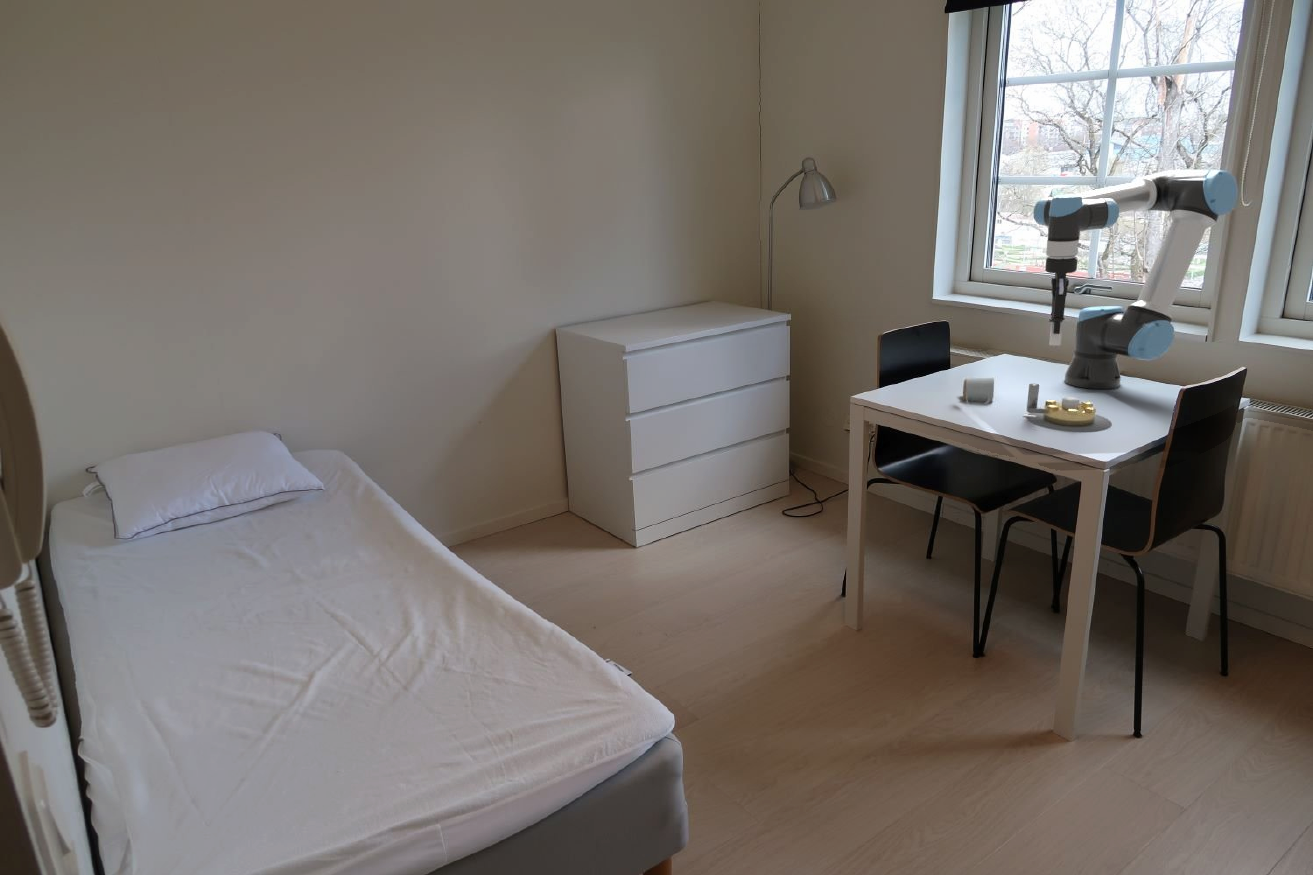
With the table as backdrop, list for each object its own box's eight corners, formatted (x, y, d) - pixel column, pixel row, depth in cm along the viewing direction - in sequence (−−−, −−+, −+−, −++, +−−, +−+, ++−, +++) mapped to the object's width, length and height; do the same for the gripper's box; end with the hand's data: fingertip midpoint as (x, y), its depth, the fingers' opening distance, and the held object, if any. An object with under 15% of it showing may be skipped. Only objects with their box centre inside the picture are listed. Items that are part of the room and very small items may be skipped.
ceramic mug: (962, 399, 252) (964, 373, 249) (993, 401, 249) (995, 375, 247) (961, 409, 243) (963, 383, 240) (992, 412, 240) (994, 385, 237)
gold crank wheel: (1090, 414, 229) (1094, 381, 226) (1097, 427, 218) (1102, 393, 215) (1023, 410, 233) (1027, 378, 231) (1027, 423, 223) (1031, 390, 220)
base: (1088, 413, 235) (1092, 388, 233) (1126, 436, 216) (1130, 409, 214) (1014, 415, 235) (1016, 390, 233) (1044, 438, 216) (1047, 411, 214)
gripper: (1080, 260, 222) (1072, 350, 229) (1075, 252, 233) (1068, 339, 241) (1047, 260, 224) (1041, 350, 232) (1044, 253, 236) (1038, 339, 243)
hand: (1055, 344), depth 236 cm, fingers closed
